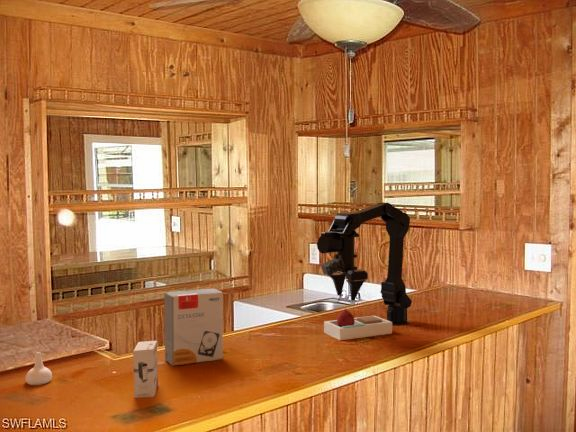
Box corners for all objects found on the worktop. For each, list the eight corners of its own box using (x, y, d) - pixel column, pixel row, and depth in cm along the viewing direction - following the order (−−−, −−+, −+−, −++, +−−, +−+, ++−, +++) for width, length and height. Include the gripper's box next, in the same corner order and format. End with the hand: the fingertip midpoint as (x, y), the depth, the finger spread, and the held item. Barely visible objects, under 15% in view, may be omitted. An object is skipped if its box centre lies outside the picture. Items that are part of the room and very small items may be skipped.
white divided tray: (374, 326, 215) (374, 313, 215) (392, 333, 205) (392, 320, 205) (324, 332, 207) (323, 319, 207) (339, 340, 197) (339, 326, 197)
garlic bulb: (42, 388, 156) (44, 358, 155) (20, 385, 157) (21, 354, 156) (56, 380, 162) (57, 351, 162) (34, 377, 163) (36, 348, 163)
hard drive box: (172, 367, 171) (170, 296, 170) (164, 360, 178) (162, 292, 176) (224, 359, 178) (223, 291, 177) (214, 352, 185) (213, 287, 183)
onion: (356, 330, 205) (356, 307, 204) (351, 334, 200) (351, 310, 199) (340, 329, 207) (340, 305, 207) (334, 333, 202) (334, 309, 202)
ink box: (139, 386, 155) (138, 340, 155) (158, 385, 156) (157, 339, 155) (133, 398, 147) (132, 350, 146) (154, 397, 147) (153, 349, 146)
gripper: (311, 249, 208) (311, 295, 209) (338, 255, 191) (338, 305, 192) (340, 247, 212) (340, 292, 213) (368, 253, 195) (368, 302, 196)
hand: (345, 297), depth 203 cm, fingers open, 9 cm apart
